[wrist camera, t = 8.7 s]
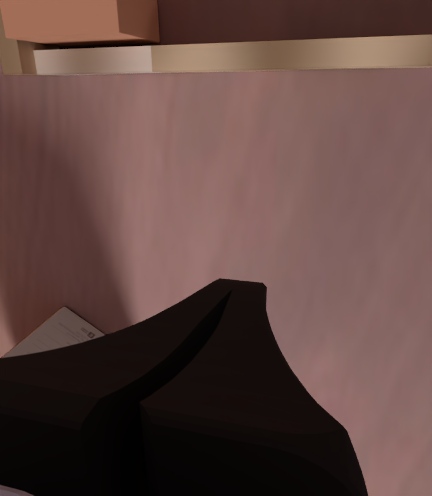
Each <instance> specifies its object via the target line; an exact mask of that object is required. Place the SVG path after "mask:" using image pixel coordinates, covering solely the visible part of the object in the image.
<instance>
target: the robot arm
mask: <svg viewBox="0 0 432 496" xmlns="http://www.w3.org/2000/svg"><path fill="white" fill-rule="evenodd" d="M266 294H267V287H266V286H265V285H264V284H263V283H259V282H249V281H239V280H230V279H218V280H216V281H214V282H212V283H210V284H209V285H207V286H205V287H204V288H202V289H201V290H199V291H197V292H196V293H194V294H192V295H191V296H189V297H187V298H186V299H184V300H182V301H181V302H179V303H177V304H175V305H173V306H171V307H170V308H168V309H166V310H164V311H162V312H160V313H158V314H156V315H154V316H152V317H150V318H148V319H146V320H144V321H142V322H139V323H137V324H135V325H132V326H130V327H127V328H125V329H122V330H119V331H117V332H114V333H111V334H107V335H104V336H101V337H98V338H95V339H91V340H88V341H85V342H82V343H78V344H74V345H70V346H66V347H62V348H57V349H52V350H47V351H43V352H37V353H32V354H26V355H19V356H12V357H5V358H0V496H368V493H367V489H366V485H365V481H364V478H363V474H362V471H361V468H360V465H359V462H358V459H357V456H356V453H355V451H354V448H353V445H352V443H351V440H350V437H349V435H348V432H347V430H346V429H345V428H344V427H343V426H342V425H341V424H340V423H339V422H338V421H337V420H336V419H334V418H333V417H332V416H331V415H330V414H329V413H328V412H327V411H326V410H324V409H323V408H322V407H321V406H320V405H319V404H318V403H317V402H316V401H315V400H314V399H313V397H312V396H311V395H310V394H309V393H308V392H307V390H306V389H305V388H304V386H303V385H302V384H301V382H300V381H299V379H298V378H297V377H296V375H295V374H294V373H293V371H292V370H291V368H290V366H289V365H288V363H287V361H286V360H285V358H284V356H283V354H282V352H281V350H280V349H279V346H278V344H277V342H276V340H275V337H274V335H273V332H272V329H271V326H270V323H269V320H268V316H267V312H266Z"/></svg>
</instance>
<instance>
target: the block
mask: <svg viewBox="0 0 432 496" xmlns="http://www.w3.org/2000/svg"><path fill="white" fill-rule="evenodd" d="M0 8H1V14H2V19H3V25H4V30H5V36H6V38H10V39H17V40H24V41H30V42H37V43H44V44H51V45H58V46H87V45H111V44H135V43H159V42H160V38H159V20H158V3H157V0H0Z"/></svg>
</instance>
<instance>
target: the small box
mask: <svg viewBox="0 0 432 496" xmlns="http://www.w3.org/2000/svg"><path fill="white" fill-rule="evenodd" d="M104 335H105V334H103V333H102V332H101V331H99V330H98V329H96V328H95V327H93V326H92V325H91V324H89V323H88V322H86V321H85V320H83V319H82V318H80V317H79V316H78V315H76V314H75V313H73V312H72V311H70V310H69V309H68V308H66V307H62V308H60V309H59V310H58V311H57V312H55V313H54V314H53V315H52V316H50V317H49V318H48V319H47V320H46V321H44V322H43V323H42V324H41V325H40V326H38V327H37V328H36V329H35V330H34V331H33V332H31V333H30V334H29V335H28V336H27V337H26V338H24V339H23V340H22V341H21V342H20V343H18V344H17V345H16V346H15V347H14V348H12V349H11V350H10V351H9V352H8V353H6V354H5V355H4V356H3V357H1V358H5V357H12V356H19V355H26V354H32V353H37V352H43V351H47V350H52V349H57V348H62V347H66V346H70V345H74V344H78V343H82V342H85V341H88V340H91V339H95V338H98V337H101V336H104Z"/></svg>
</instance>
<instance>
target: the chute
mask: <svg viewBox="0 0 432 496" xmlns="http://www.w3.org/2000/svg"><path fill="white" fill-rule="evenodd" d="M0 60H1V65H2V70H3V74H6V75H36V76H59V75H104V74H149V73H194V72H238V71H283V70H328V69H373V68H417V67H432V35H408V36H382V37H357V38H332V39H307V40H282V41H257V42H232V43H207V44H182V45H157V46H132V47H107V48H82V49H59V46H58V45H51V44H44V43H37V42H30V41H24V40H17V39H10V38H6V36H5V30H4V25H3V19H2V14H1V8H0Z"/></svg>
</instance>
